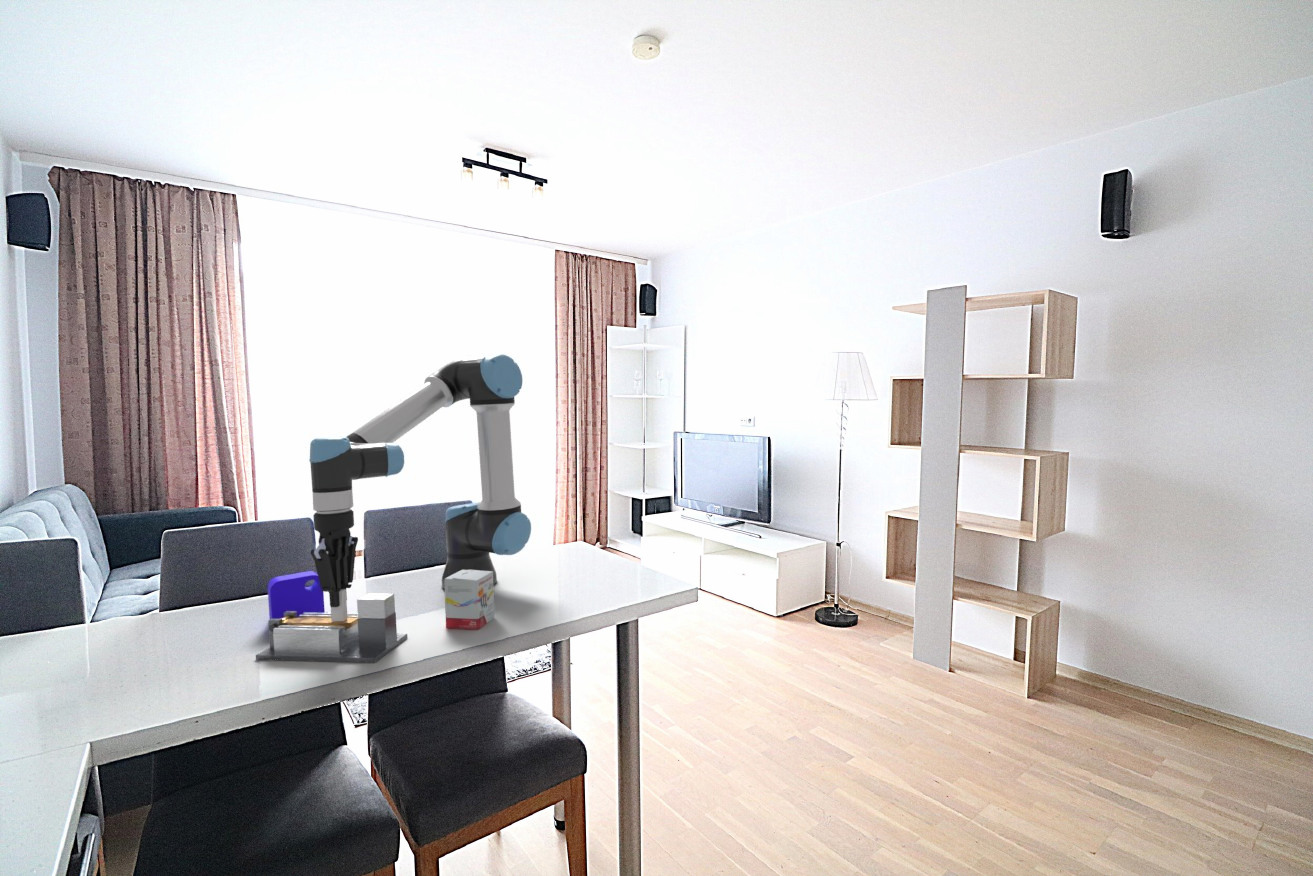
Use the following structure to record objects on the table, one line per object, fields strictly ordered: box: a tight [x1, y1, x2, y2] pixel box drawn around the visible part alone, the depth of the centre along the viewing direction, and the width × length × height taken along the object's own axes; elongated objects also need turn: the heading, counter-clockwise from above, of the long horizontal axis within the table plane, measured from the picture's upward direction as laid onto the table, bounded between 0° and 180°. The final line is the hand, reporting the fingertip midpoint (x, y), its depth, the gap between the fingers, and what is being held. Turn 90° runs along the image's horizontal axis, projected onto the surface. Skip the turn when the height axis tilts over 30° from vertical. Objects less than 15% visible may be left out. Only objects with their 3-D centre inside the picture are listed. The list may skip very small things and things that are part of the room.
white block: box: [356, 592, 396, 619], centre depth 131 cm, size 4×6×4 cm, turn 84°
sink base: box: [255, 611, 408, 664], centre depth 132 cm, size 13×26×7 cm, turn 84°
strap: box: [280, 616, 358, 627], centre depth 133 cm, size 3×18×2 cm, turn 84°
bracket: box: [267, 570, 326, 620], centre depth 153 cm, size 18×11×12 cm, turn 39°
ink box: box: [444, 570, 495, 631], centre depth 146 cm, size 9×9×12 cm
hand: (339, 620), depth 132 cm, fingers closed
